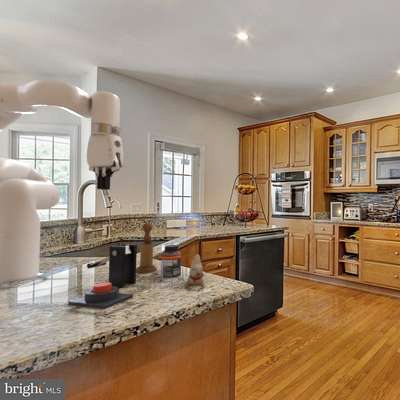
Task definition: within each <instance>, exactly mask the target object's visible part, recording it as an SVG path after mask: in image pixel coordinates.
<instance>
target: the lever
mask: <svg viewBox="0 0 400 400" xmlns="http://www.w3.org/2000/svg"><path fill="white" fill-rule="evenodd" d="M128 254H131V250H130V247H129V245H128V246H126V254H125V256H126V255H128ZM107 262H109V255H108V256H107V257H103V258H102V259H100V260H97V261H94V262H89V263H87V264H86V268H87V269H94V268H98V267H102V266H106V265H107Z"/></svg>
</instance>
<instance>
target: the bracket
mask: <svg viewBox="0 0 400 400" xmlns="http://www.w3.org/2000/svg"><path fill="white" fill-rule="evenodd" d="M128 245H129V247H130V250H131V254H128V255H126V256H125V254H126V246H128ZM137 252H138V244H136V243H135V244H134V243H121V245H110V246H109V254H108V256H109V261H108V282H109V283H111V284H112V285H111V286H114V287H118V288H119V289H124V288H125V284H126V285H135V284H136V283H137V273H136V268H137V257H138V254H137Z"/></svg>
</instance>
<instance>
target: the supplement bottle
mask: <svg viewBox="0 0 400 400" xmlns="http://www.w3.org/2000/svg"><path fill="white" fill-rule="evenodd" d="M160 255H161V257H160V277H161V278H164V279H172V278H173V279H174V278H178V277H180V276H182V253H181V251H180V250H179V244H166V245H164V250H163V252H162V253H161V254H160Z"/></svg>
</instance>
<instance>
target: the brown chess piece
mask: <svg viewBox="0 0 400 400" xmlns="http://www.w3.org/2000/svg"><path fill="white" fill-rule="evenodd" d="M142 230H143V231H144V232H143V233H144V235H143V241H144V242H140V252H139V253H140V255H139V258H140V259H139V266H137V267H136V274H148V273H149V274H150V273H153V272H157V271H158V267H156V265H154V242H153V241H151V239H152V235H151V234H150V233H151V231H153V224H152V223H151V222H145V223H143V225H142Z"/></svg>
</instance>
